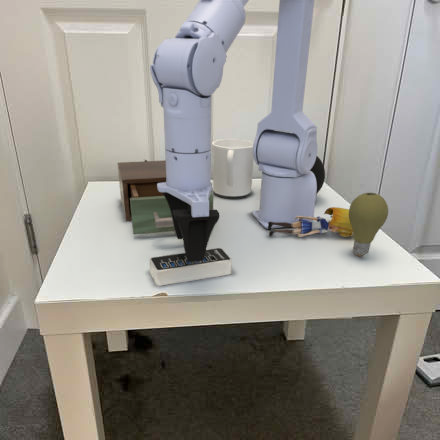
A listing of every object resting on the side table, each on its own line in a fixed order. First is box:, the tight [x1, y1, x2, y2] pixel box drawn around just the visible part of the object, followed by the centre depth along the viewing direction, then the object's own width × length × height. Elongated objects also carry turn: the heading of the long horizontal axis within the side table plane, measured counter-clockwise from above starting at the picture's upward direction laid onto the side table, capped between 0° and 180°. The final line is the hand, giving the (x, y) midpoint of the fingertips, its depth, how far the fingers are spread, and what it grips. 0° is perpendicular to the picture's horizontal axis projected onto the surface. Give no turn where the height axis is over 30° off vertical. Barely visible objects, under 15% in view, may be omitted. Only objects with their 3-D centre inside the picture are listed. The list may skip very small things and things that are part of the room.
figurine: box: [267, 206, 353, 238], centre depth 76 cm, size 5×5×15 cm
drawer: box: [129, 182, 214, 235], centre depth 76 cm, size 15×13×6 cm
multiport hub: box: [149, 247, 233, 287], centre depth 64 cm, size 4×11×2 cm, turn 111°
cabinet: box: [117, 159, 166, 222], centre depth 86 cm, size 12×15×8 cm
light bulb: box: [348, 192, 389, 258], centre depth 68 cm, size 6×6×10 cm
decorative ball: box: [309, 155, 326, 195], centre depth 91 cm, size 10×10×10 cm
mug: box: [211, 138, 255, 200], centre depth 93 cm, size 11×9×10 cm
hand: (189, 248), depth 63 cm, fingers open, 7 cm apart
